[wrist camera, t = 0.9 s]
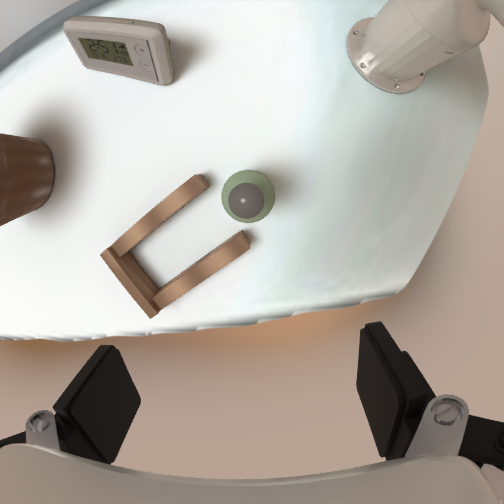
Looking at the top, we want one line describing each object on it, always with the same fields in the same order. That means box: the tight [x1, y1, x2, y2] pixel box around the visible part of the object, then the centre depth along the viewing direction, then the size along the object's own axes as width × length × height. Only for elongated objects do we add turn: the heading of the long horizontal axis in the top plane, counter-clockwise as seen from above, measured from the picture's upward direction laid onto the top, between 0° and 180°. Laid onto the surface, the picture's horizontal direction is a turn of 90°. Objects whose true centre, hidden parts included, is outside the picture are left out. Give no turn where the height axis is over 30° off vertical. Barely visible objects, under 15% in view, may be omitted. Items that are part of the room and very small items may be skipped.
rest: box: [100, 174, 250, 319], centre depth 36 cm, size 16×11×4 cm, turn 125°
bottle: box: [222, 170, 275, 223], centre depth 30 cm, size 5×5×14 cm
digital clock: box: [64, 16, 173, 85], centre depth 26 cm, size 16×9×11 cm, turn 55°
